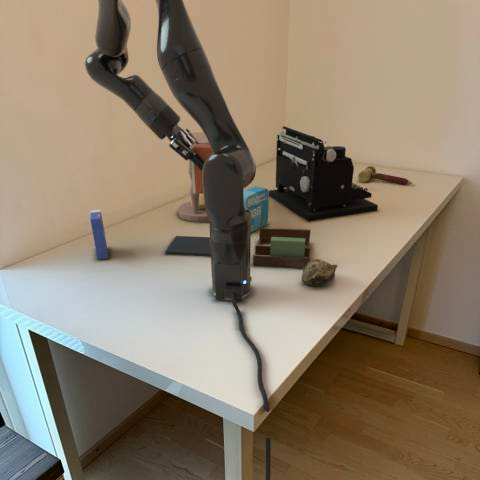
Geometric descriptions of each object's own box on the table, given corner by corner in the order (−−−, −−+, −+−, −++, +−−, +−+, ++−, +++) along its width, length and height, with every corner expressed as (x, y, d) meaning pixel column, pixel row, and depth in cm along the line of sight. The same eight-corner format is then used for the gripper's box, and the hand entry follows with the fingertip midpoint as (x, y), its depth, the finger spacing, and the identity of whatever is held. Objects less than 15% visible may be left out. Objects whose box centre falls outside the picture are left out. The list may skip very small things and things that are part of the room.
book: (229, 195, 124) (229, 148, 118) (193, 193, 125) (190, 147, 119) (232, 190, 128) (231, 144, 121) (196, 189, 129) (194, 143, 123)
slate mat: (235, 257, 130) (235, 254, 129) (165, 254, 132) (165, 251, 132) (240, 241, 140) (240, 238, 139) (176, 238, 142) (175, 235, 142)
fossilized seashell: (315, 285, 110) (346, 281, 115) (311, 257, 110) (342, 254, 115) (296, 289, 116) (326, 285, 121) (291, 263, 116) (322, 260, 121)
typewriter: (377, 210, 161) (388, 134, 148) (308, 221, 153) (313, 141, 140) (330, 187, 186) (336, 120, 173) (268, 195, 178) (270, 125, 164)
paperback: (303, 266, 124) (305, 241, 121) (270, 264, 125) (270, 240, 122) (303, 262, 126) (305, 238, 123) (270, 260, 127) (271, 236, 124)
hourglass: (198, 202, 171) (194, 130, 158) (238, 210, 163) (238, 135, 150) (168, 216, 158) (161, 139, 145) (210, 225, 151) (207, 145, 137)
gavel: (416, 174, 189) (410, 180, 181) (413, 185, 191) (407, 192, 184) (366, 164, 197) (359, 170, 190) (364, 175, 200) (357, 181, 192)
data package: (246, 235, 143) (245, 196, 137) (234, 232, 146) (234, 194, 139) (268, 224, 151) (269, 187, 145) (257, 221, 154) (257, 185, 147)
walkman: (108, 258, 130) (100, 217, 123) (97, 259, 129) (90, 218, 123) (107, 248, 136) (100, 208, 130) (97, 249, 135) (90, 208, 129)
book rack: (308, 268, 123) (309, 253, 121) (253, 266, 125) (253, 250, 122) (309, 244, 137) (310, 229, 135) (259, 241, 139) (259, 227, 137)
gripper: (156, 121, 126) (202, 168, 131) (139, 131, 114) (191, 182, 119) (174, 100, 122) (220, 149, 127) (158, 108, 110) (210, 162, 115)
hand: (206, 165), depth 123 cm, fingers closed on book, 4 cm apart
